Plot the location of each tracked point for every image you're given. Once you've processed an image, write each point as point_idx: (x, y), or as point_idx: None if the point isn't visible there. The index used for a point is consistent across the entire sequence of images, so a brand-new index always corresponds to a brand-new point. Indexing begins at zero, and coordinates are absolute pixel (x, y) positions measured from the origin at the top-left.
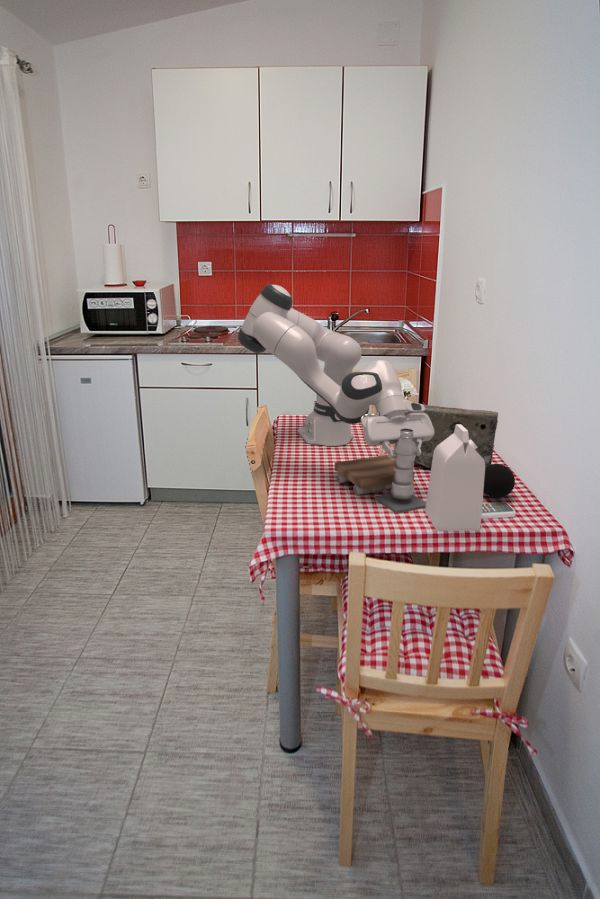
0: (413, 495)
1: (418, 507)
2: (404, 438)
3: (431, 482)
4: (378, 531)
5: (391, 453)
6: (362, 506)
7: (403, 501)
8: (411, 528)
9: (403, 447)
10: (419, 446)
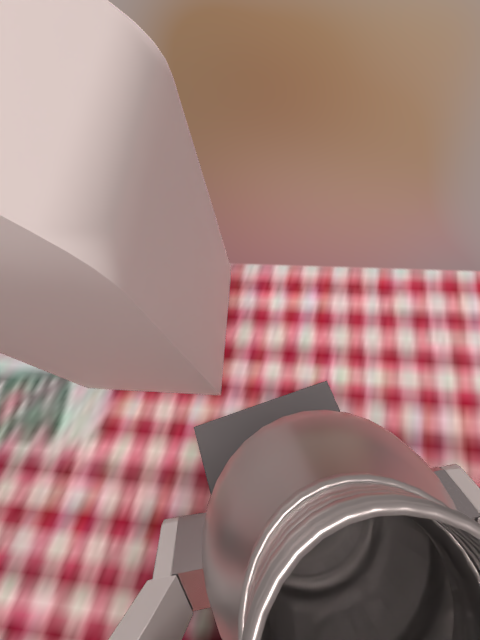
0: None
1: (237, 412)
2: (415, 487)
3: (195, 329)
4: (395, 270)
5: (468, 477)
6: (443, 456)
7: None
8: (296, 283)
9: (381, 435)
10: (151, 593)
